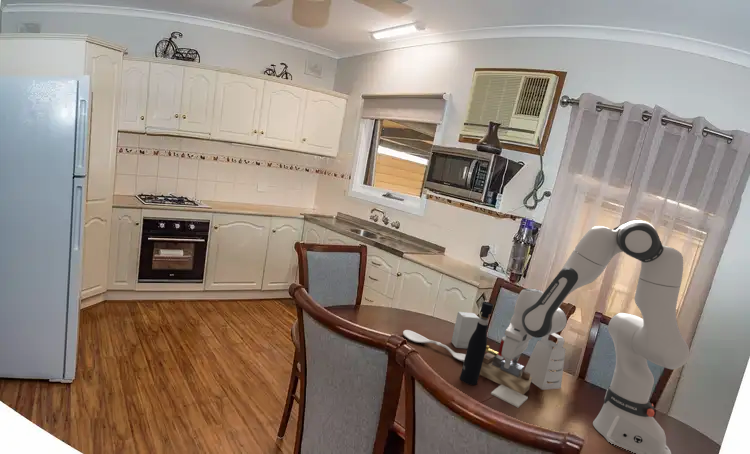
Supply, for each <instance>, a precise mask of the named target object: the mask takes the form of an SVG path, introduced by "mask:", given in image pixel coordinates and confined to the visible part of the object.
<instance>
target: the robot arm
mask: <svg viewBox="0 0 750 454" xmlns="http://www.w3.org/2000/svg"><path fill="white" fill-rule="evenodd" d="M620 253H624V254H626V255H627V256H629V257H631V258H633V259H636V260H638V261H640V265H641V267H640V273H639V276H638V279H637V280H638V281H637V283H636V284H637V285H636V289H635V294H634V302H635V305H636V307H637V308H638V309H639V311H640V313H641V316H642V317H640V316H638V315H635V314H630V313H626V312H619V313H616V314H615V315H614V316H613V317H611V318H610V321H609V322H608V325H607V327H608V328H607V331H608V333H609V335H610V337H611V339H612V341H613V346H614V349H615V367H614V371H613V374H612V375H613V376H612V379H611V382H610V385H609V386H608V387H607V389H606V392H605V396H604V403H603V405H602V407H601V409H600V411H599V412H598V415H597V416H596V417H595V419H594V420H593V422H592V425H593V427H594V429H595V430H596V431H597V432H598V433H599V434H601V435H602V436H603V437H604V438H605V440H606V441H607V442H608V443H609V442H610V443H611V445H612V444H614V445H613V446H615V445H617V446H619V447H622V448H624V449H626V450H625V451H627V450H629V451H631V452H630V453H632V452H633V453H632V454H634V453H636V454H672V451H671V450H670V448H669V446H668V445H667V436H666V434H665V430H664V429H663V427H661V425H660V424H659V422H658V421H657V420H656V419H655V417H654V416H655V410H654V409H655V408H654V403H651V402H650V400H649V399H650V397H651V394H652V390H653V387H654V384H655V377H654V375H653V373H652V371H651V369H650V367H649V365H648V361H649V362H650V363H653V364H654V365H657V366H659V367H662V368H665V369H669V370H676V369H679V368H681V367H683V366H685V365H686V363H687V362H688V360H689V358H690V347H689V345H688V343H687V342H686V340H685V339H684V337H683V336H682V333H681V331H680V329H679V325H678V320H677V305H678V298H679V294H680V290H681V285H682V281H683V280H682V279H683V274H684V273H683V272H684V256H683V255H682V253H681V252H680V251H679V250H678V249H676V248H673V247H671V246H667V245H663V244H662V242H661V239H660V235H659V234H658V230H657V229H656V228H655V227H654V225H652V224H651V223H650V222H648V221H647V220H643V219H631V220H627V221H625V222H624V223H622V224H620V225H618V226H616V227H614V228H613V229H611V228H609V227H606V226H603V225H596V226H593V227H592V228H590V229H589V230H588V231H587V232H586V233H585V235H584V236H582V238H581V239H580V240H579V242H578V243H577V245H576V246H575V248H574V249H573V250H572V252H571V254H570V255H569V257H568V259H567V260H566V261H565V263H564V264H563V266H562V268H561V269H560V270H559V272H558V274H557V275H556V276H555V277H554V278H553V279H552V281H551V282H550V284H549V285H548V286H547V288H546V289H545V290H544V291H542V290H540V289H536V288H529V287H528V288H523V289H522V290H521V291H520V292H519V294H518V296H517V299H516V301H515V306H514V308H513V309H514V311H513V314H512V316H511V318H510V321H509V325H508V326H507V328H506V329H505V331H504V337H505V340H504V344H503V348H502V357H503V358H505V364H504V367H505V368H507V369H509V368H510V365H511V364H510V363H511V360H512V359H513V360H512V361H513V362H516V363H518V362H519V359H520V357H521V355H522V353H523V352H525V351H527V349H528V346H529V342H530V340H532V339H533V338H542V337H543V336H546V335H548V334H549V335H551V334H553V333H556V334H558V333H559V332H562V331H563V330H565V328H566V326H567V322H568V318H567V315H566V313H565V311H564V310H563V309H562V308H560V307H561V305H562V304H563V303H564V301H565V300H566V299H567V297H568V296H569V295H570V294H571V293H573V292H574V291H576V290H578V289H580V288H581V287H583V286H586V285H589V284H591V283H593V282H595V281H596V280H597V279H598V277H600V275H602V273H603V272H604V271H605V269H606V268H607V266H608V265H609V264H610V262H611V260H612V259H613V258H614V256H616V255H617V254H620ZM610 443H609V444H610ZM617 446H616V447H617ZM619 447H618V448H619ZM622 448H621V449H622ZM624 449H623V450H624ZM629 451H628V452H629Z"/></svg>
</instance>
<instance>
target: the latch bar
mask: <svg viewBox="0 0 750 454" xmlns="http://www.w3.org/2000/svg"><path fill="white" fill-rule="evenodd" d="M485 353H490V354H493V355H495V356H497V355H498V353H499V352H498V351H496V350H494V349H492V348H490V345H488V344H487V347H486V351H485Z"/></svg>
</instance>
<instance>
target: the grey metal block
mask: <svg viewBox="0 0 750 454" xmlns="http://www.w3.org/2000/svg"><path fill="white" fill-rule="evenodd" d="M504 364H505V360H503V361H502V363H501V367H500V369H501V370H503V371H505V372H507V373H509V374H512V375H514V376H516V377H519V376H520V375H522V373H523V371H524V370H525V365H522V364H520V363H518V362H517V363H516V362H513V361H511V363H510V364H511V365H510V368H509V369H507V368H505V367H504Z"/></svg>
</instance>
